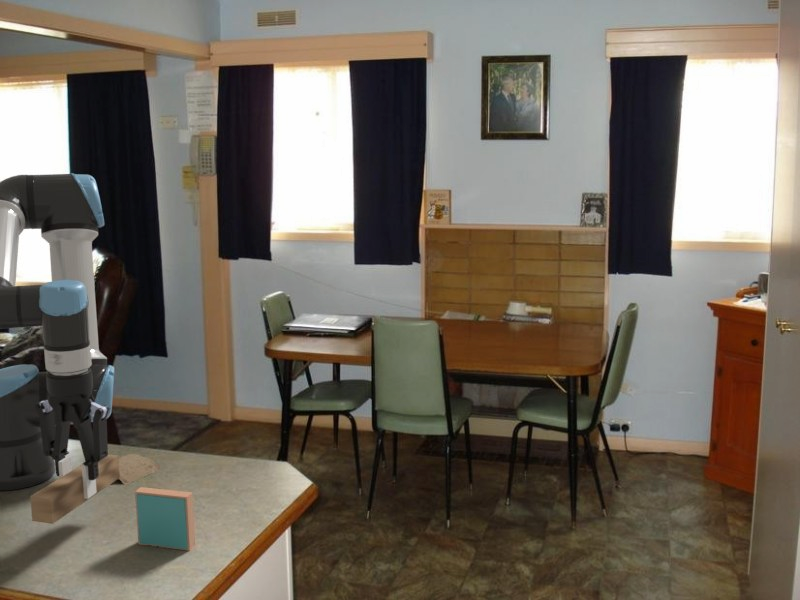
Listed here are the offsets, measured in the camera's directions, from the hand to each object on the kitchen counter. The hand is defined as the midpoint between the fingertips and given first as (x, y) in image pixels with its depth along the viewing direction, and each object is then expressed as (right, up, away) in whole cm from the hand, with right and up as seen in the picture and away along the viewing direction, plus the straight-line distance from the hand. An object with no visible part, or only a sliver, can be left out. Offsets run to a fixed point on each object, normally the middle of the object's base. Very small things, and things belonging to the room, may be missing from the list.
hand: (78, 493), depth 154 cm
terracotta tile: (+17, -8, -3) cm, 19 cm away
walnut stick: (0, -1, 0) cm, 1 cm away
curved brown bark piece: (-2, -3, +30) cm, 30 cm away
